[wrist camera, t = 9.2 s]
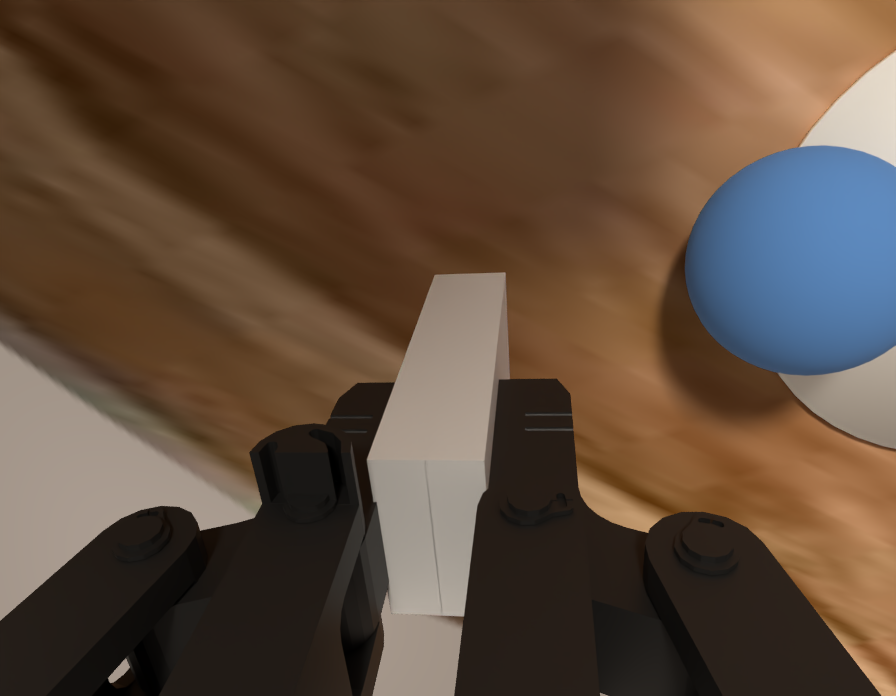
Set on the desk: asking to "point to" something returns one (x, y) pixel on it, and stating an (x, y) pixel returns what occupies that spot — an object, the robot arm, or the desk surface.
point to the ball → (799, 261)
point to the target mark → (892, 374)
